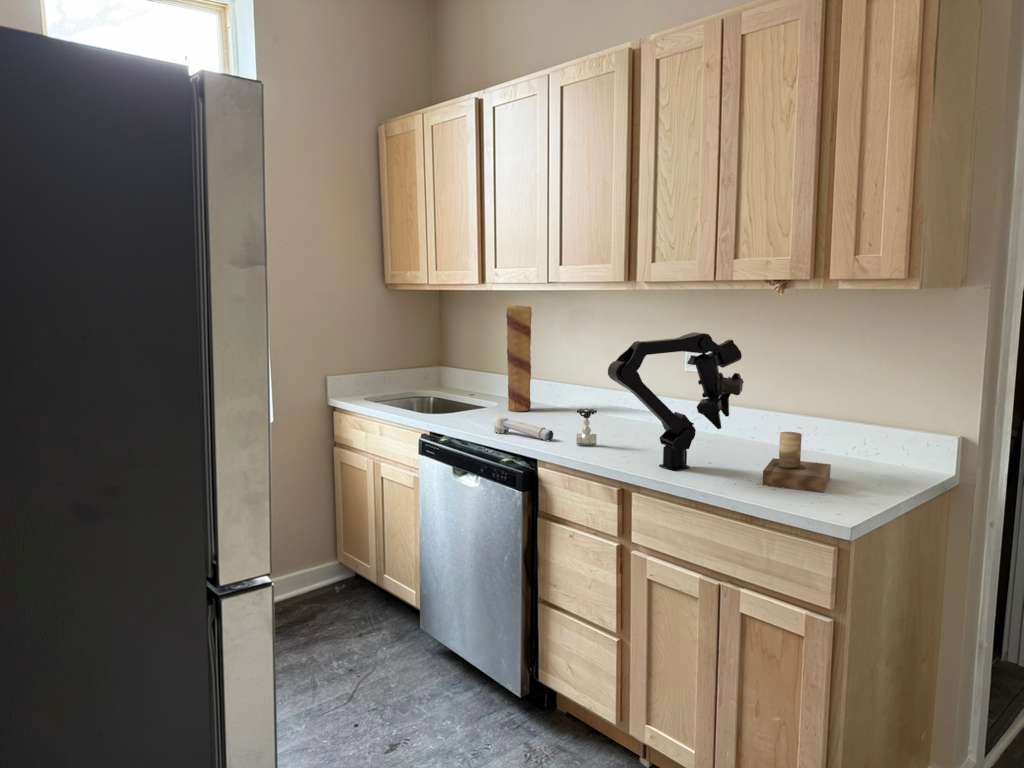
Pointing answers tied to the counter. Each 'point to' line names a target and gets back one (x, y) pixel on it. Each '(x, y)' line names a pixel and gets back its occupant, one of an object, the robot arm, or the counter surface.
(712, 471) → the counter surface
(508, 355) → the wafer roll
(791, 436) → the dowel
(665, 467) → the robot arm
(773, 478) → the seat block
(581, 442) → the valve
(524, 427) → the off-white plastic cylinder
